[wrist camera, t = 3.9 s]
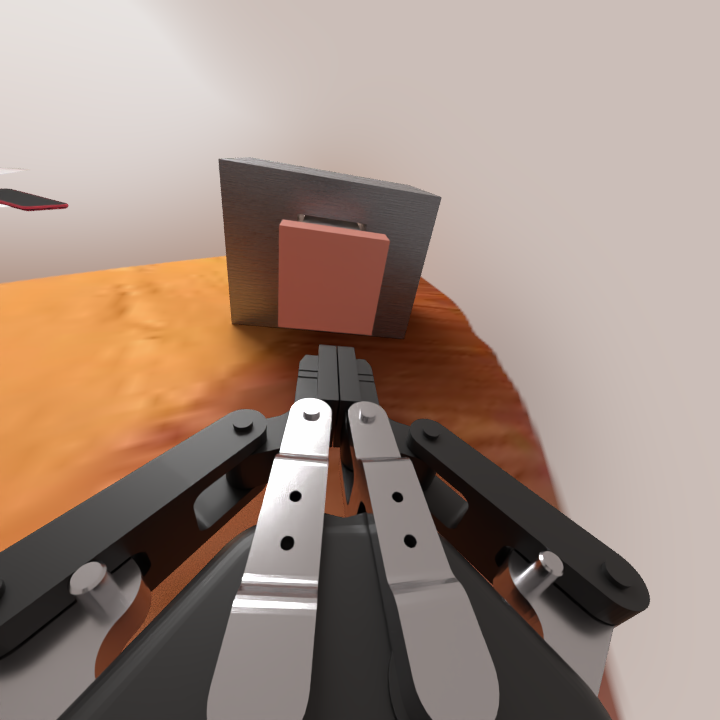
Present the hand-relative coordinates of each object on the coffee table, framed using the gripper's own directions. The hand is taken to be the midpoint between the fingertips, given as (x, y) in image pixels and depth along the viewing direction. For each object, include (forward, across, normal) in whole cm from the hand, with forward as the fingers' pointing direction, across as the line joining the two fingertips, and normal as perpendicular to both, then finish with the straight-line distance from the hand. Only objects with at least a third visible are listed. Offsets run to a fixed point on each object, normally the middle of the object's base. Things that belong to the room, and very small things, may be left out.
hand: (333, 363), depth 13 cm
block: (+24, 0, +8) cm, 25 cm away
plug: (+17, 0, +4) cm, 17 cm away
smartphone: (+57, +56, +9) cm, 81 cm away
